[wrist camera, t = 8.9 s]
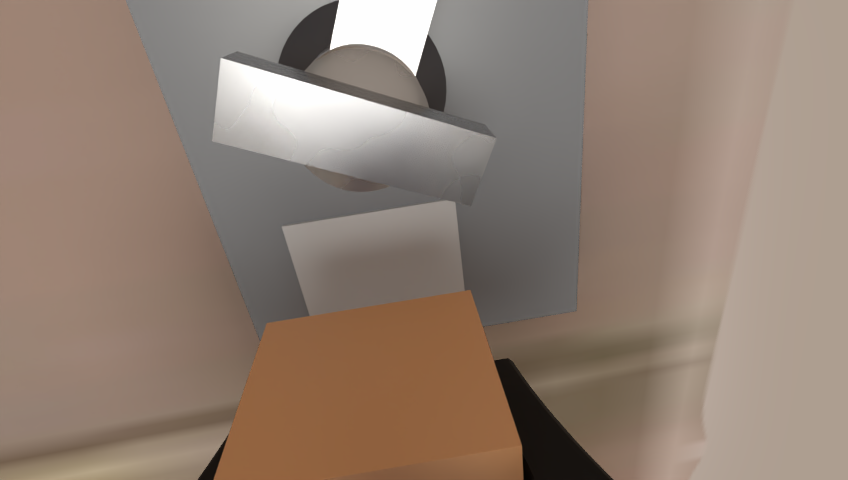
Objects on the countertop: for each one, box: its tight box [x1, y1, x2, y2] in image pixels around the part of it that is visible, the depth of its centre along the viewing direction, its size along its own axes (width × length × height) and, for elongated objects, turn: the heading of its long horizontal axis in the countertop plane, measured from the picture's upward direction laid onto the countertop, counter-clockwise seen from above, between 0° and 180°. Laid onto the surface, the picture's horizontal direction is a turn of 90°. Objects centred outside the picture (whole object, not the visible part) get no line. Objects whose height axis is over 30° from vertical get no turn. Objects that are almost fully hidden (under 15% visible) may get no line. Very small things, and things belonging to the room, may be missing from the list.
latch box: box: [126, 0, 588, 341], centre depth 14 cm, size 14×11×2 cm
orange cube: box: [214, 290, 523, 480], centre depth 9 cm, size 4×4×4 cm
